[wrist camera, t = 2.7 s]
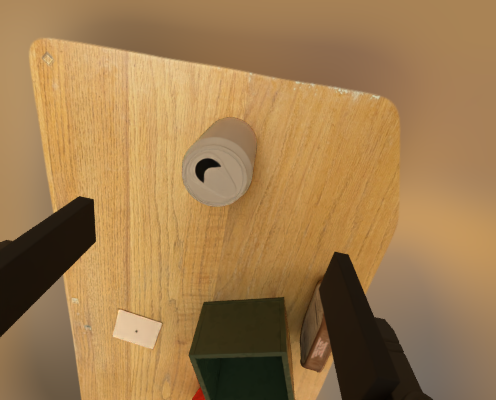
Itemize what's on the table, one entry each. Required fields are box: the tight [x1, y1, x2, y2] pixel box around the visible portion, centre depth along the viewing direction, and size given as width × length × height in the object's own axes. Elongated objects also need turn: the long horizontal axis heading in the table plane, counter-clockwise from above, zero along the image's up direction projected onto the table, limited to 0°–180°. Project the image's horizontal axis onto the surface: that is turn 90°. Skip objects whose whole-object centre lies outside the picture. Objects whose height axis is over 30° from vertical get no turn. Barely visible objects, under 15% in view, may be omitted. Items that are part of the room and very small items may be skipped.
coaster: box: [113, 309, 162, 349], centre depth 50 cm, size 8×8×1 cm
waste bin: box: [189, 297, 295, 400], centre depth 44 cm, size 14×14×10 cm
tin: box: [300, 280, 332, 372], centre depth 41 cm, size 15×3×8 cm, turn 170°
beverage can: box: [182, 117, 257, 207], centre depth 29 cm, size 6×6×12 cm
